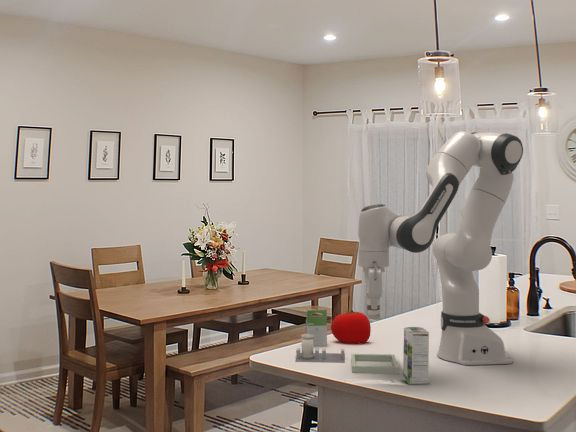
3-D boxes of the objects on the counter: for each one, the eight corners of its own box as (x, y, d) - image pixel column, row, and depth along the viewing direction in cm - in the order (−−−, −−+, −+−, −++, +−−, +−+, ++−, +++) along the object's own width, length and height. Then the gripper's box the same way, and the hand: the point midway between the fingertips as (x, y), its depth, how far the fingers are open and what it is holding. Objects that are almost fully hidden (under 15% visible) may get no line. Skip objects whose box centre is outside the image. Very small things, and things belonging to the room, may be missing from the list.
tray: (394, 364, 173) (394, 354, 173) (398, 377, 161) (398, 367, 160) (351, 363, 175) (351, 353, 175) (351, 376, 162) (351, 366, 162)
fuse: (379, 316, 169) (379, 292, 169) (380, 319, 165) (380, 295, 165) (366, 316, 169) (366, 292, 169) (367, 319, 165) (367, 295, 165)
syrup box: (402, 378, 160) (402, 326, 160) (423, 377, 161) (423, 326, 160) (408, 384, 155) (408, 331, 154) (429, 384, 155) (429, 331, 154)
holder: (344, 357, 181) (344, 331, 181) (344, 366, 171) (344, 339, 171) (297, 356, 183) (297, 331, 183) (295, 365, 173) (294, 338, 173)
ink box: (326, 346, 194) (325, 307, 194) (327, 350, 190) (327, 310, 190) (305, 347, 194) (305, 308, 194) (306, 350, 190) (306, 310, 190)
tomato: (360, 350, 189) (360, 316, 189) (325, 344, 197) (325, 311, 197) (378, 342, 199) (377, 310, 199) (343, 337, 207) (343, 306, 207)
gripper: (387, 264, 156) (387, 314, 156) (382, 256, 176) (382, 301, 177) (364, 264, 157) (364, 314, 157) (361, 256, 177) (361, 300, 177)
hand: (373, 307), depth 167 cm, fingers closed on fuse, 4 cm apart
